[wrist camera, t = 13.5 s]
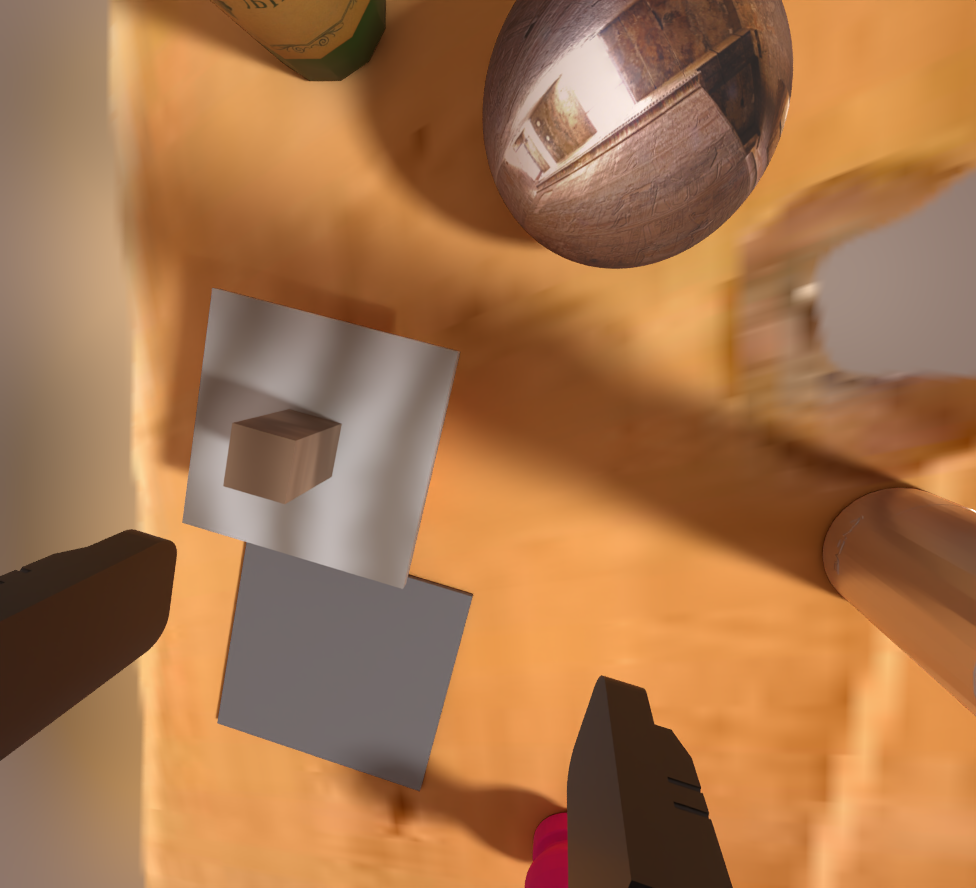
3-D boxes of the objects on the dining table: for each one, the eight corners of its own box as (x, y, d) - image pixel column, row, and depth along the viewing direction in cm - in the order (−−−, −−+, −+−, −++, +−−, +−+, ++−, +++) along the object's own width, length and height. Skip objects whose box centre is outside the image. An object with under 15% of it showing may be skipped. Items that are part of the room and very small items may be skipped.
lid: (460, 351, 32) (434, 353, 26) (406, 583, 36) (371, 638, 29) (220, 289, 34) (137, 276, 27) (190, 518, 37) (110, 557, 31)
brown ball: (455, 185, 36) (384, 80, 22) (605, -19, 33) (640, -306, 18) (619, 328, 37) (658, 318, 22) (785, 140, 33) (961, -18, 19)
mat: (473, 594, 42) (472, 596, 41) (421, 787, 46) (419, 791, 46) (251, 527, 43) (248, 528, 43) (220, 720, 47) (217, 723, 47)
